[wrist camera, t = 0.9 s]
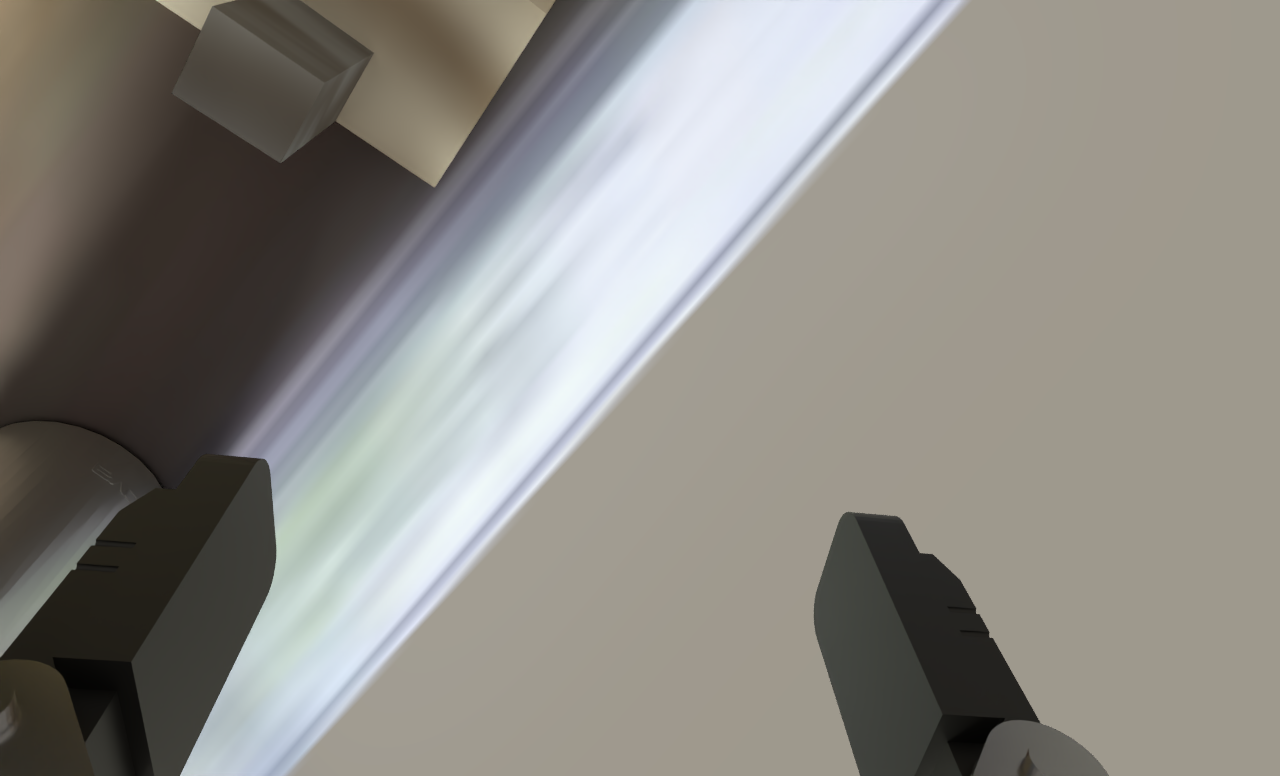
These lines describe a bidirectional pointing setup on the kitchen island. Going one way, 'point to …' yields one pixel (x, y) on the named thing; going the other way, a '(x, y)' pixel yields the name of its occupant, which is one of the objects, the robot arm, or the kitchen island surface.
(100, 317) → the kitchen island surface
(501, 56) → the tray
